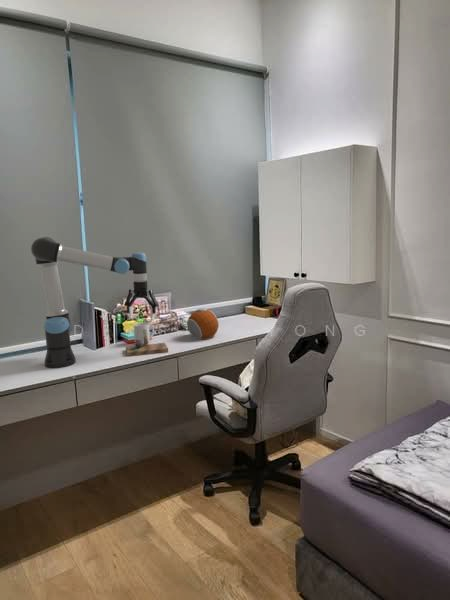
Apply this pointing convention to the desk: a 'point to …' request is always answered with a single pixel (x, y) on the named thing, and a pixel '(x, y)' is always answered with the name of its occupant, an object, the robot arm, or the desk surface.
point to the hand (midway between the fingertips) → (142, 318)
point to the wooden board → (147, 349)
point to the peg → (139, 342)
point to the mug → (139, 331)
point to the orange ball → (202, 324)
